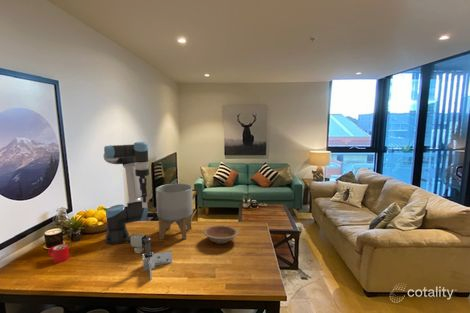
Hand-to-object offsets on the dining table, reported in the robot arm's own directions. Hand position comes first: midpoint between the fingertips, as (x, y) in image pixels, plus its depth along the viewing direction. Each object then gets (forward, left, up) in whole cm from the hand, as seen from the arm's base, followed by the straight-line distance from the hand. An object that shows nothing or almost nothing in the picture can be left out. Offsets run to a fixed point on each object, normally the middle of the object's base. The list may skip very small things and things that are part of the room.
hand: (144, 203), depth 155 cm
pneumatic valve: (-6, -4, -33) cm, 34 cm away
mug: (-16, -49, -33) cm, 61 cm away
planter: (-23, +22, -33) cm, 46 cm away
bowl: (+1, +48, -33) cm, 58 cm away
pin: (+14, 0, -33) cm, 36 cm away
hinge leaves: (+19, +5, -33) cm, 38 cm away
